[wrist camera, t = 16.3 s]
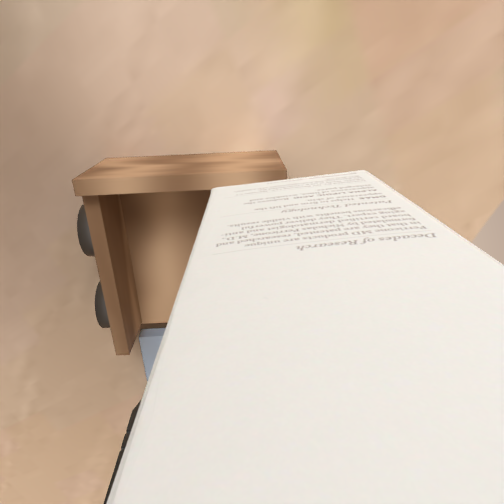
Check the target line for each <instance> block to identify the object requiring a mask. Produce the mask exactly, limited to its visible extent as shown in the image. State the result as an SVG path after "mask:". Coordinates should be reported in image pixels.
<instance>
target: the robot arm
mask: <svg viewBox="0 0 504 504" xmlns="http://www.w3.org/2000/svg"><path fill="white" fill-rule="evenodd" d="M141 400H142V399H141ZM140 403H141V401H140V402H139V403H138V405H137V406H136V407H135V408H134V410H133V411H132V414H131V417H130V420H129V424H128V427H127V430H126V431H127V433H126V434H125V436H124V440H123V443H122V446H121V451H120V453H119V456H118V459H117V462H116V465H115V469H114V472H113V475H112V478H111V482H110V485H109V488H108V491H107V494H106V498H105V501H104V504H106V503H107V500H108V497H109V494H110V492H111V489H112V486H113V483H114V480H115V477H116V474H117V471H118V468H119V465H120V462H121V459H122V456H123V453H124V450H125V447H126V444H127V441H128V438H129V436H130V433H131V430H132V427H133V424H134V421H135V418H136V415H137V412H138V409H139V406H140Z"/></svg>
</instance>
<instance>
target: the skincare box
mask: <svg viewBox="0 0 504 504" xmlns="http://www.w3.org/2000/svg"><path fill="white" fill-rule="evenodd" d="M106 504H504V265H503V264H501V263H500V262H498V261H497V260H496V259H494V258H493V257H491V256H490V255H488V254H487V253H485V252H484V251H482V250H481V249H479V248H478V247H476V246H475V245H473V244H472V243H471V242H469V241H468V240H466V239H465V238H463V237H462V236H460V235H459V234H458V233H456V232H455V231H453V230H452V229H450V228H449V227H448V226H446V225H445V224H443V223H442V222H440V221H439V220H438V219H436V218H435V217H433V216H432V215H430V214H429V213H427V212H426V211H424V210H423V209H422V208H421V207H419V206H418V205H416V204H414V203H413V202H411V201H410V200H408V199H407V198H405V197H404V196H403V195H401V194H400V193H398V192H397V191H395V190H394V189H392V188H391V187H390V186H388V185H387V184H385V183H384V182H382V181H381V180H379V179H378V178H376V177H375V176H374V175H372V174H371V173H369V172H368V171H365V170H359V171H351V172H344V173H335V174H327V175H319V176H311V177H303V178H294V179H286V180H277V181H269V182H260V183H251V184H242V185H234V186H224V187H217V188H213V189H212V190H211V194H210V197H209V200H208V204H207V207H206V210H205V213H204V216H203V219H202V222H201V225H200V228H199V231H198V234H197V237H196V240H195V243H194V246H193V249H192V252H191V255H190V258H189V261H188V264H187V267H186V270H185V273H184V276H183V279H182V282H181V285H180V288H179V291H178V294H177V297H176V300H175V303H174V306H173V309H172V312H171V315H170V317H169V320H168V323H167V326H166V329H165V332H164V335H163V338H162V341H161V344H160V347H159V349H158V352H157V355H156V358H155V361H154V364H153V367H152V370H151V373H150V376H149V379H148V382H147V385H146V388H145V391H144V394H143V397H142V400H141V403H140V406H139V409H138V412H137V415H136V418H135V421H134V424H133V427H132V430H131V433H130V436H129V438H128V441H127V444H126V447H125V450H124V453H123V456H122V459H121V462H120V465H119V468H118V471H117V474H116V477H115V480H114V483H113V486H112V489H111V492H110V494H109V497H108V500H107V503H106Z"/></svg>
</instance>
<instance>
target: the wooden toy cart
mask: <svg viewBox="0 0 504 504" xmlns="http://www.w3.org/2000/svg"><path fill="white" fill-rule="evenodd" d="M286 179H287V169H286V168H285V166H284V164H283V162H282V160H281V158H280V157H279V155H278V153H277V151H276V150H275V151H253V152H232V153H210V154H189V155H168V156H146V157H125V158H106V159H104V160H103V161H101V162H100V163H98V164H96V165H95V166H93V167H92V168H90V169H89V170H87V171H85V172H84V173H82V174H81V175H79V176H78V177H76V178H74V179H73V180H72V183H73V187H74V192H75V196H82V198H83V202H84V205H82V206H81V208H80V210H79V214H78V220H77V231H78V238H79V242H80V245H81V248H82V250H83V252H84V253H85V254H86V255H87V256H95V258H96V263H97V268H98V272H99V277H100V282H99V284H98V286H97V290H96V295H95V311H96V317H97V320H98V323H99V325H100V326H101V327H102V328H111V333H112V337H113V342H114V347H115V351H116V355H130V352H131V349H132V347H133V344H134V341H135V339H136V336H137V334H138V331H139V328H140V326H141V324H146V323H164V322H168V320H169V317H170V315H171V312H172V309H173V306H174V303H175V300H176V297H177V294H178V291H179V288H180V285H181V282H182V279H183V276H184V273H185V270H186V267H187V264H188V261H189V258H190V255H191V252H192V249H193V246H194V243H195V240H196V237H197V234H198V231H199V228H200V225H201V222H202V219H203V216H204V213H205V210H206V207H207V204H208V200H209V197H210V194H211V190H212V189H213V188H217V187H224V186H234V185H242V184H251V183H260V182H269V181H277V180H286Z"/></svg>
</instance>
